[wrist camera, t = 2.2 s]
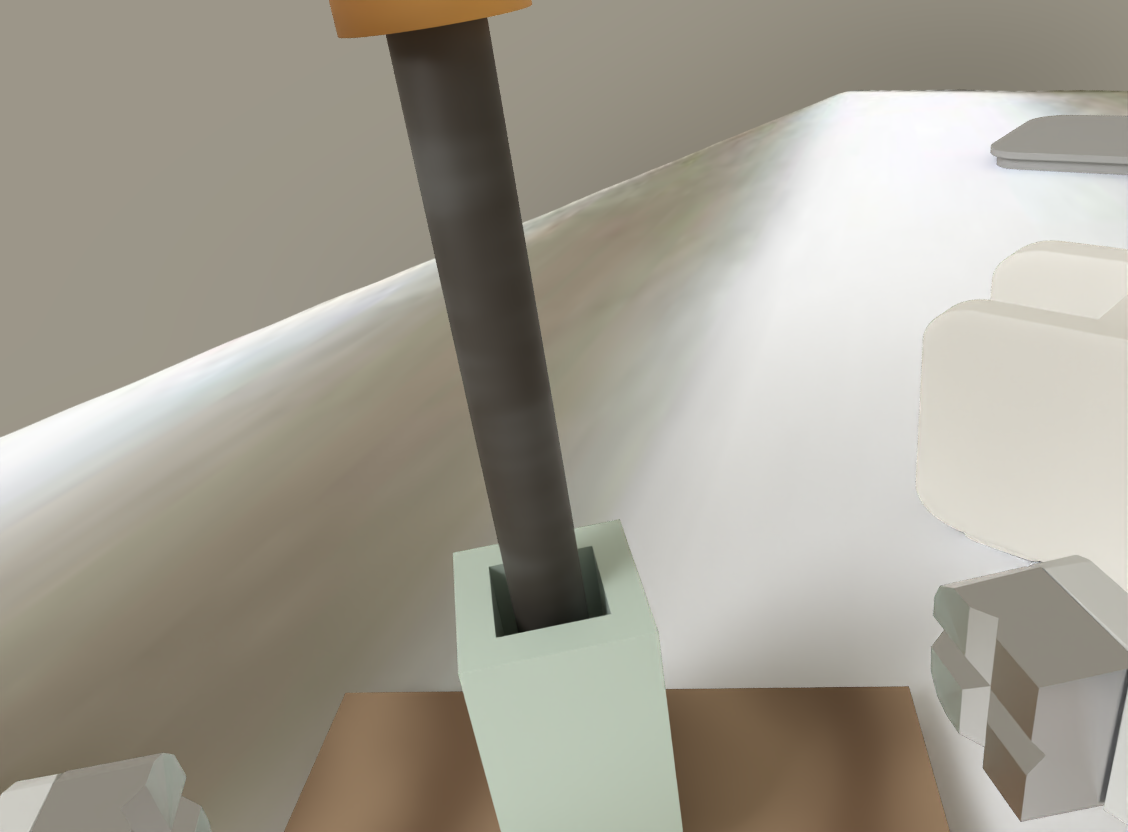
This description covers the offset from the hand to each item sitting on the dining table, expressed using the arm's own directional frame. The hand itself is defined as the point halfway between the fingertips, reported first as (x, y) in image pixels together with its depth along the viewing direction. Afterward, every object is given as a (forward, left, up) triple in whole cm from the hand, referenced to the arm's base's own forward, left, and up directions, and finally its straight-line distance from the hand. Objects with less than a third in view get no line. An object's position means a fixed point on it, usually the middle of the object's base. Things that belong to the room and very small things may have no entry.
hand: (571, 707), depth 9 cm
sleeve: (-3, +12, -16) cm, 20 cm away
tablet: (+45, +90, -21) cm, 102 cm away
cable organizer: (+19, +30, -20) cm, 41 cm away
